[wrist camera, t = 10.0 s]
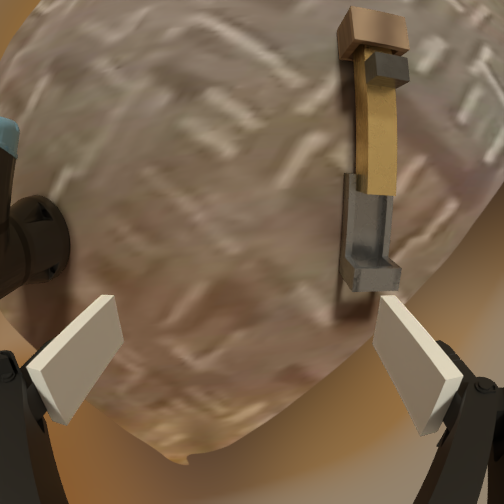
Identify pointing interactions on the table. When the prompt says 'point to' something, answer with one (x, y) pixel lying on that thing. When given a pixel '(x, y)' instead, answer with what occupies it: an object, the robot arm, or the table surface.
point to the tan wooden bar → (377, 117)
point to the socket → (371, 32)
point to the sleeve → (367, 241)
